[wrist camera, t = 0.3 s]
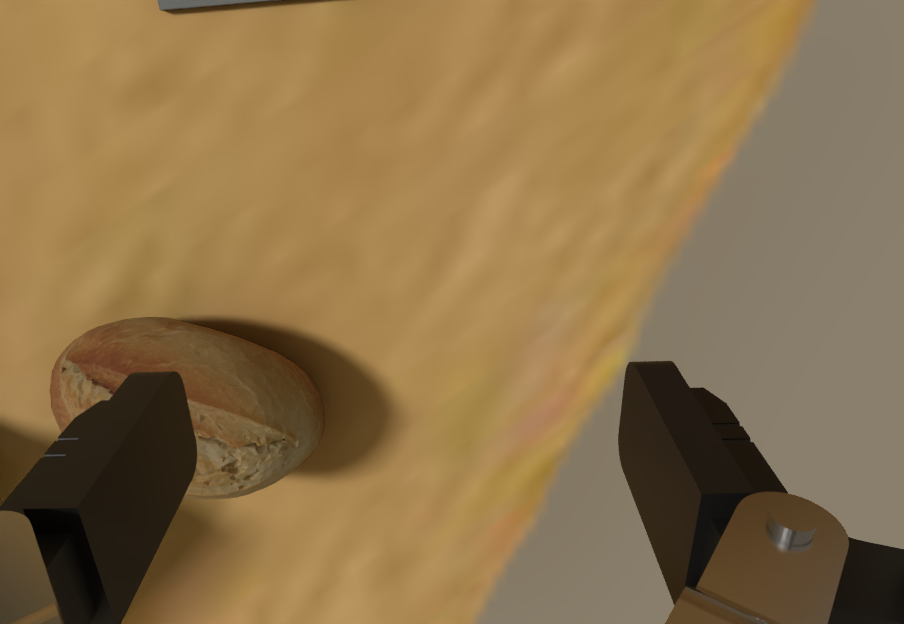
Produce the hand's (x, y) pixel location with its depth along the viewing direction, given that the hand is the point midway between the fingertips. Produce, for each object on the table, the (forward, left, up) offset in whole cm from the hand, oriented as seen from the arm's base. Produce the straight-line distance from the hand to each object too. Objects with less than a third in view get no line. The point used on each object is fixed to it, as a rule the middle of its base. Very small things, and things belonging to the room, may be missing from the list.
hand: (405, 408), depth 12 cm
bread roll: (+10, -13, -27) cm, 32 cm away
